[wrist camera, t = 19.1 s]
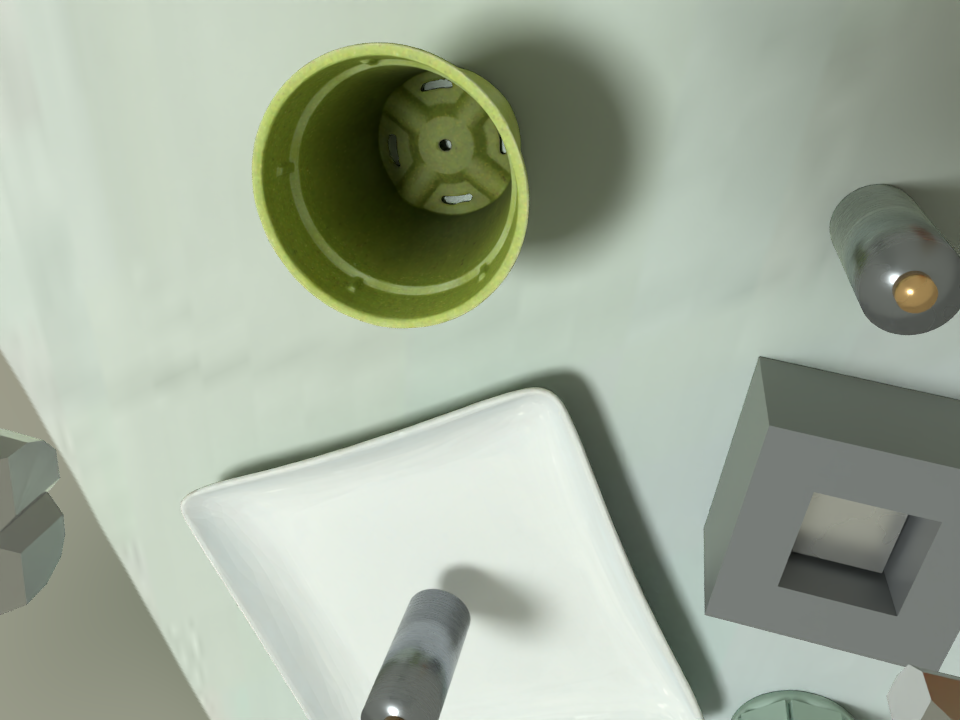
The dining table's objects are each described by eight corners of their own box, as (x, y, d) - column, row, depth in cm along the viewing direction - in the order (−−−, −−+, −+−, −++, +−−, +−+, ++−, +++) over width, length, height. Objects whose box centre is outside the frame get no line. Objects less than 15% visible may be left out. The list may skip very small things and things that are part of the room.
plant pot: (543, -2, 33) (497, 16, 26) (580, 237, 37) (549, 315, 29) (318, 44, 36) (215, 72, 28) (373, 263, 39) (295, 341, 32)
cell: (411, 581, 43) (358, 700, 36) (474, 598, 43) (433, 721, 36) (404, 630, 44) (353, 753, 38) (465, 647, 44) (424, 773, 37)
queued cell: (818, 255, 35) (847, 330, 28) (844, 177, 34) (882, 236, 27) (901, 272, 35) (950, 352, 28) (932, 193, 33) (991, 258, 26)
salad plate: (562, 349, 40) (551, 383, 37) (714, 697, 46) (715, 750, 43) (198, 466, 47) (164, 501, 44) (373, 751, 54) (354, 799, 51)
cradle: (701, 535, 42) (702, 622, 36) (759, 356, 37) (769, 425, 32) (901, 584, 40) (932, 682, 35) (985, 406, 36) (1035, 486, 31)
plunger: (780, 534, 37) (782, 548, 37) (810, 456, 36) (812, 469, 35) (877, 558, 37) (881, 573, 36) (911, 480, 35) (917, 494, 34)
